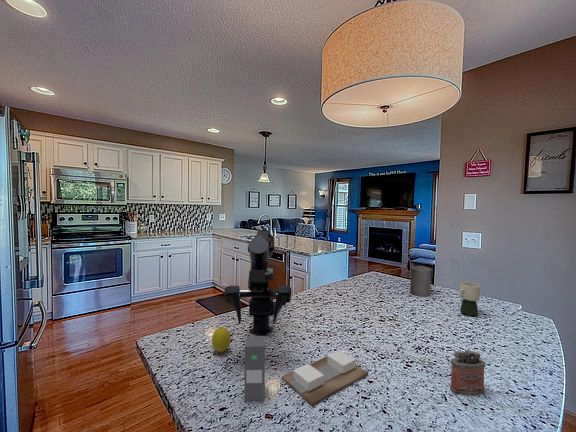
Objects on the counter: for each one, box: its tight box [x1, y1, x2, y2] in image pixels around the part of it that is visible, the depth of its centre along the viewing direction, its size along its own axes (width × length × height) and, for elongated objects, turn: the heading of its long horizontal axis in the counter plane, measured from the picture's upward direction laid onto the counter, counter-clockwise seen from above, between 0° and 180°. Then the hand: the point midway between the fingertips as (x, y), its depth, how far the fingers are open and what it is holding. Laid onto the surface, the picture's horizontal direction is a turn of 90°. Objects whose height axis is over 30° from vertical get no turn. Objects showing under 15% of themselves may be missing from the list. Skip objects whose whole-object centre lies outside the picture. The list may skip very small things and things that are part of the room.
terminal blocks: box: [292, 350, 357, 392], centre depth 73 cm, size 6×17×2 cm, turn 126°
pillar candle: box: [409, 265, 432, 298], centre depth 144 cm, size 10×10×15 cm
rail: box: [290, 363, 359, 394], centre depth 73 cm, size 5×20×1 cm, turn 126°
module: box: [243, 335, 266, 403], centre depth 66 cm, size 5×4×13 cm
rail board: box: [281, 356, 369, 407], centre depth 73 cm, size 12×20×1 cm, turn 126°
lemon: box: [211, 326, 232, 353], centre depth 85 cm, size 6×6×8 cm
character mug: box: [458, 281, 481, 317], centre depth 117 cm, size 11×7×13 cm, turn 107°
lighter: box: [449, 349, 486, 396], centre depth 68 cm, size 8×3×10 cm, turn 92°
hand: (256, 323), depth 74 cm, fingers open, 9 cm apart
